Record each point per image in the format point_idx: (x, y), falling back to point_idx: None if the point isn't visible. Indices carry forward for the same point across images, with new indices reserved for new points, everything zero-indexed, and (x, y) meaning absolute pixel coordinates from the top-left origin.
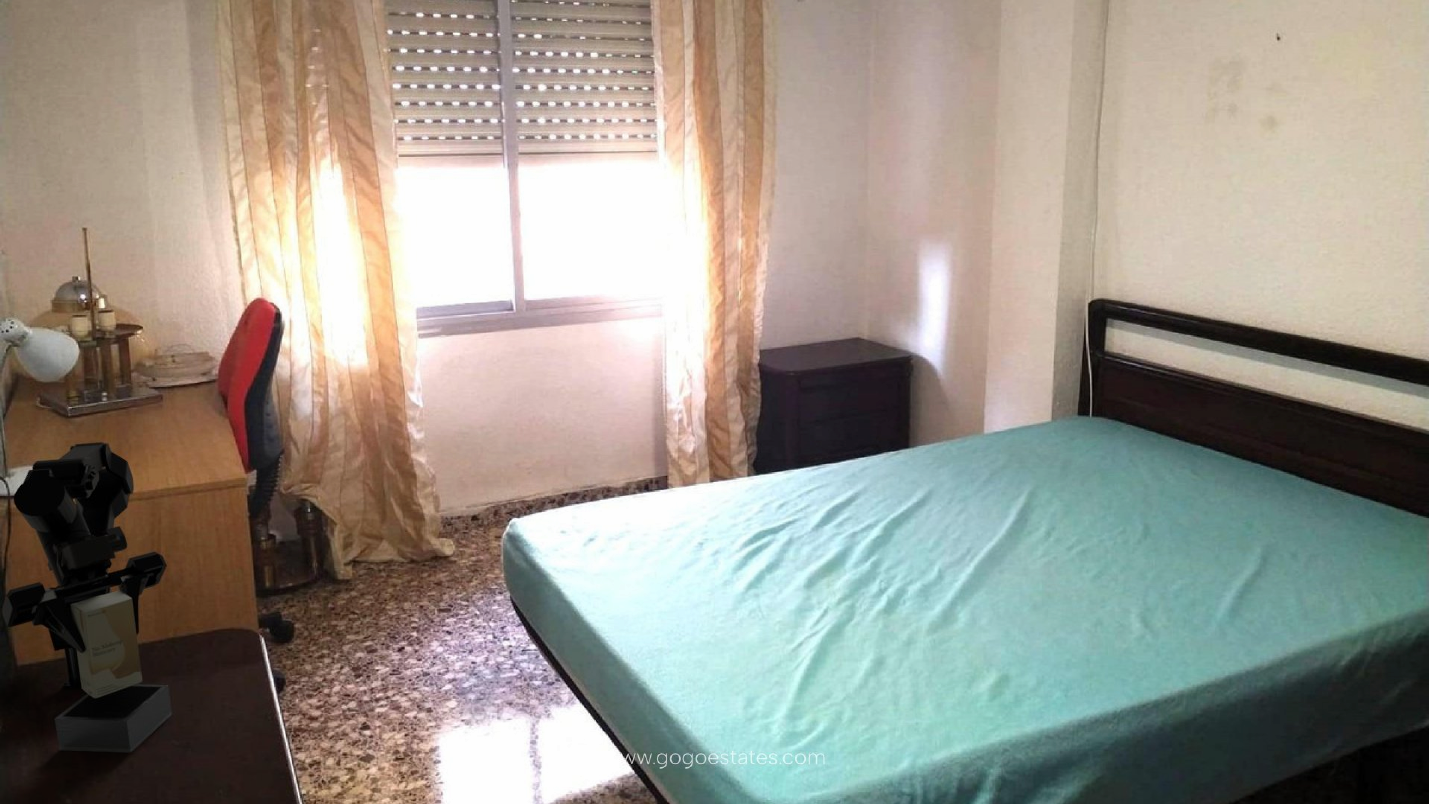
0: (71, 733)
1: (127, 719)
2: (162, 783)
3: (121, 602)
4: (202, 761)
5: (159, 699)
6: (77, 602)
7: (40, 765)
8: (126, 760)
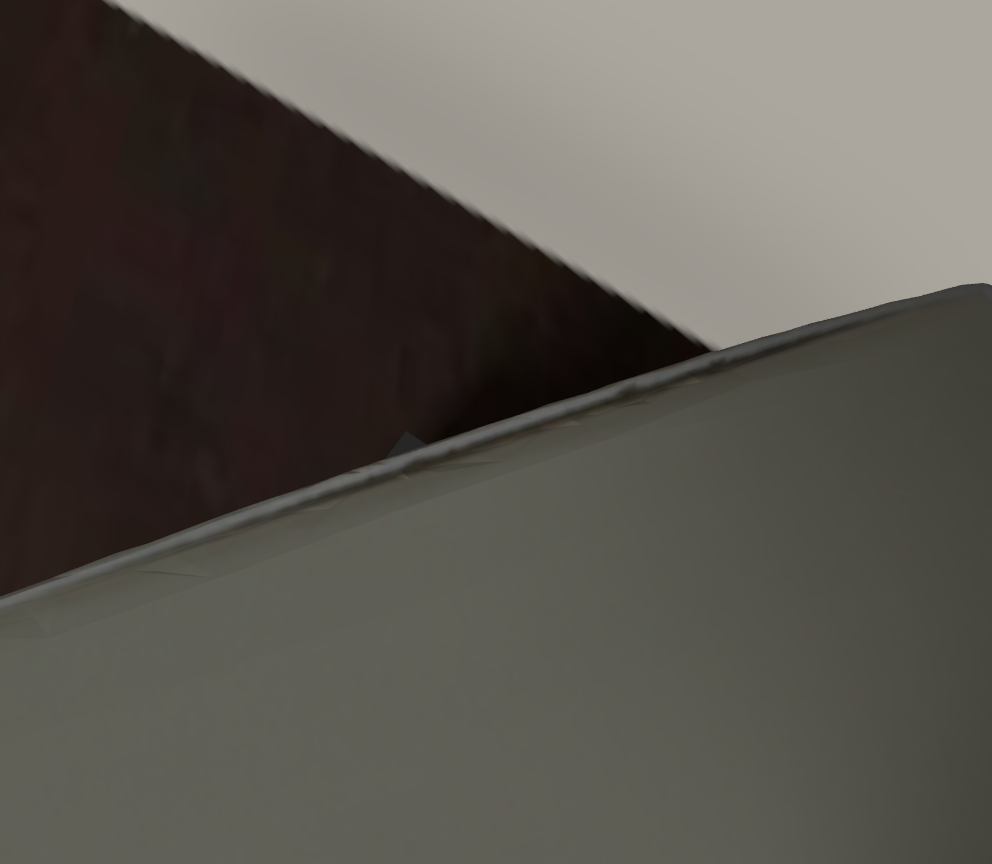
0: None
1: (400, 445)
2: (314, 178)
3: (199, 534)
4: (143, 250)
5: None
6: None
7: None
8: (424, 426)
